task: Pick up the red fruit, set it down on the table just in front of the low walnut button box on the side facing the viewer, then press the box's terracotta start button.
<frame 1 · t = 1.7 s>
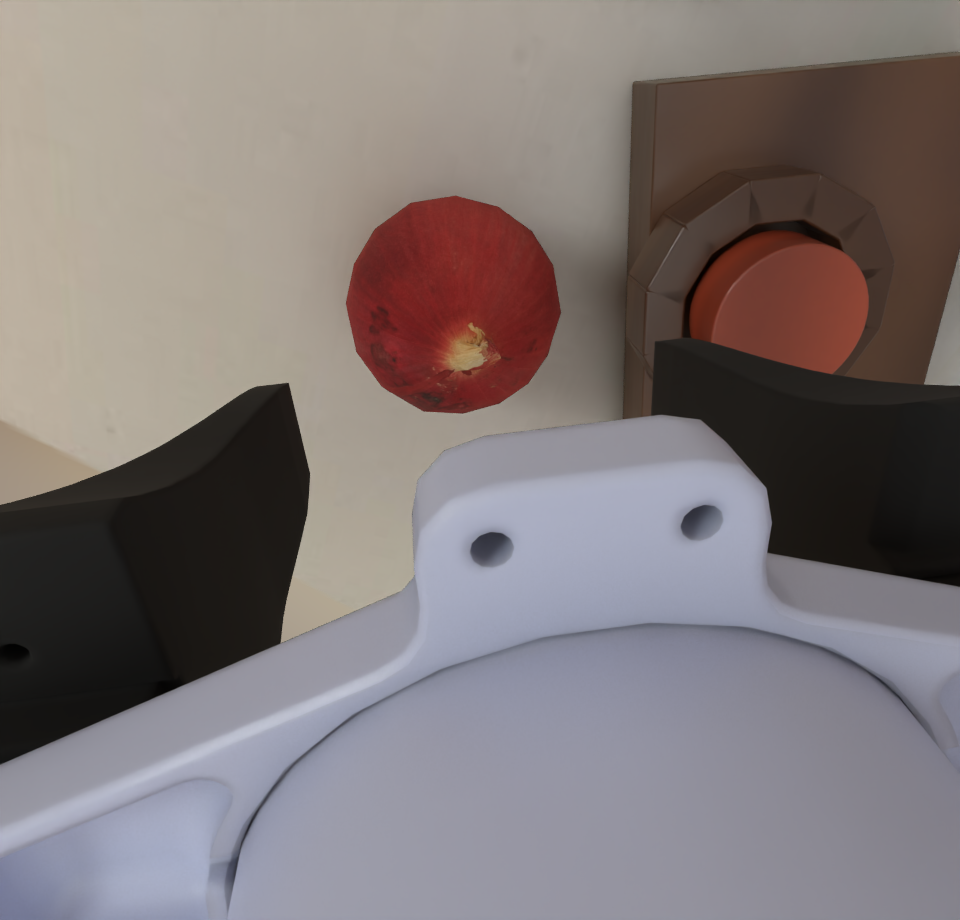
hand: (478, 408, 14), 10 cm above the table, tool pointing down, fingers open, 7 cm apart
start button: (775, 316, 20), point 4 cm above the table, slide at 0.1 cm
red fruit: (444, 272, 23), on the table
button box: (770, 268, 24), on the table
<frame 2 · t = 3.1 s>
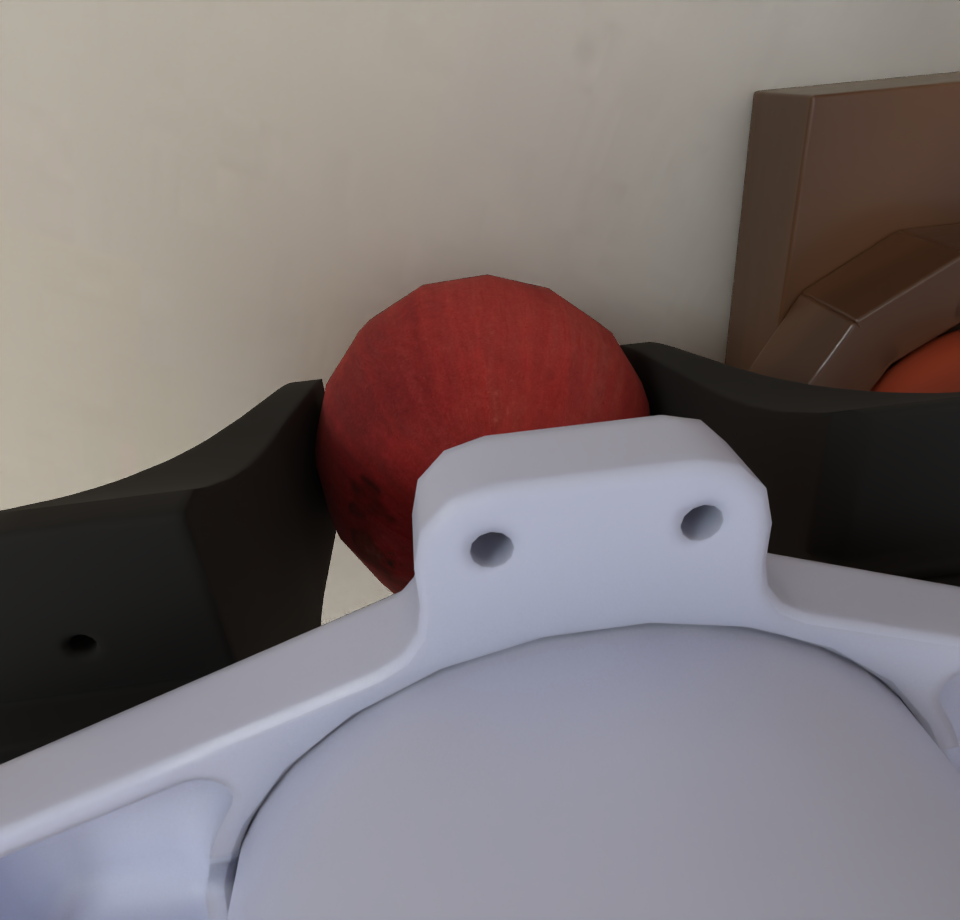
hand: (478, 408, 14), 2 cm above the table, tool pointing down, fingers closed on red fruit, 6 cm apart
red fruit: (464, 364, 16), on the table, touching gripper
button box: (924, 353, 17), on the table
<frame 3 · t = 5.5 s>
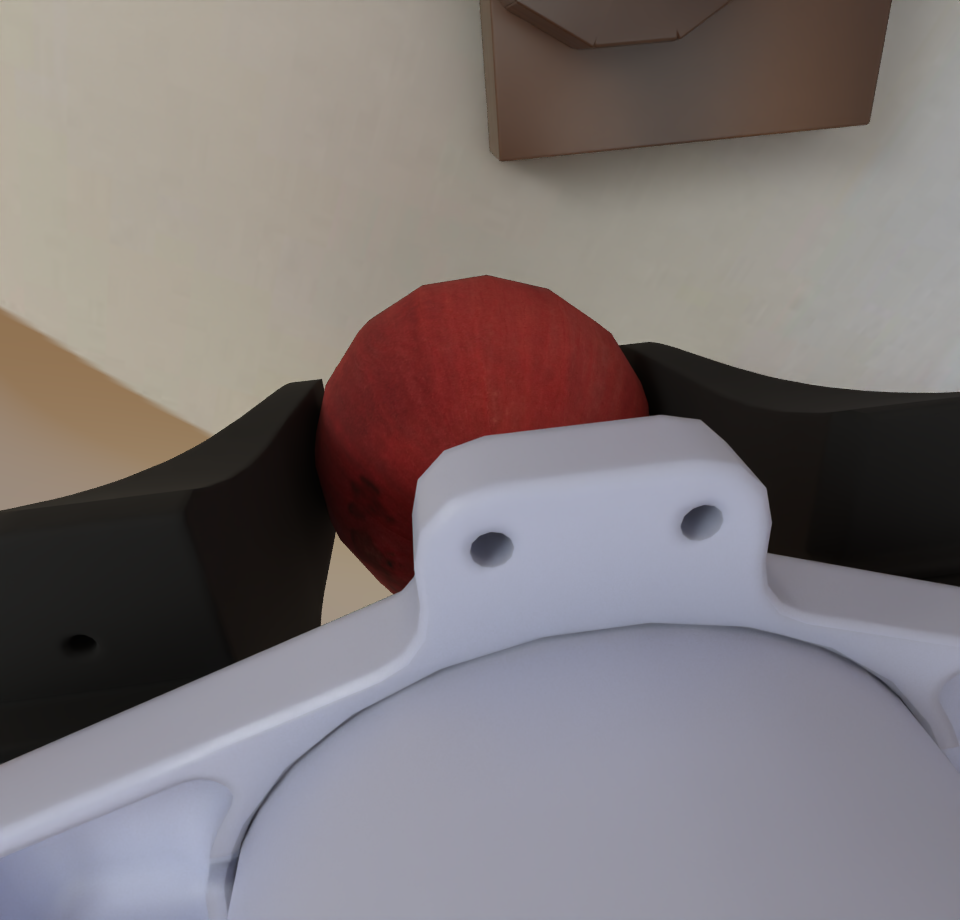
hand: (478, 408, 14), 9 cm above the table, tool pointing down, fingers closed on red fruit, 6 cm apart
red fruit: (463, 364, 16), point 7 cm above the table, touching gripper
when the fingers open (2 cm above the table, at t = 7.9 s): red fruit stays where it is, on the table.
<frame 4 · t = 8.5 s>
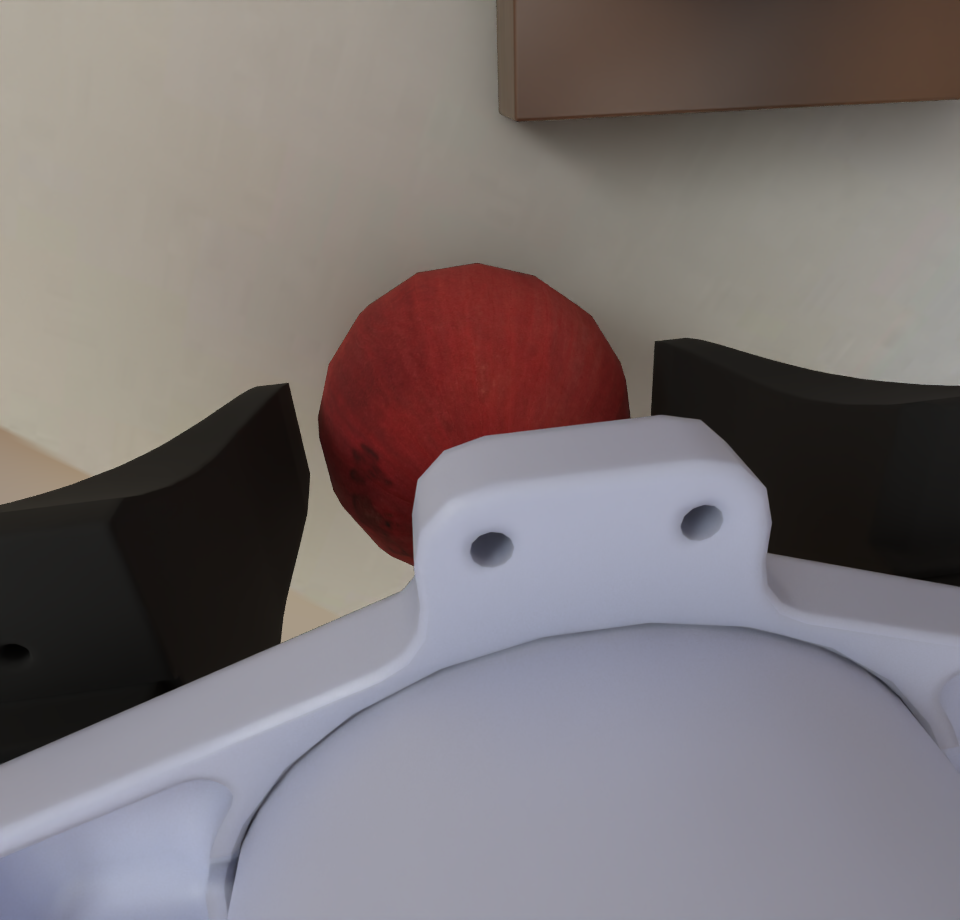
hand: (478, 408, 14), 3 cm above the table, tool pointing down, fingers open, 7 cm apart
red fruit: (457, 350, 17), on the table
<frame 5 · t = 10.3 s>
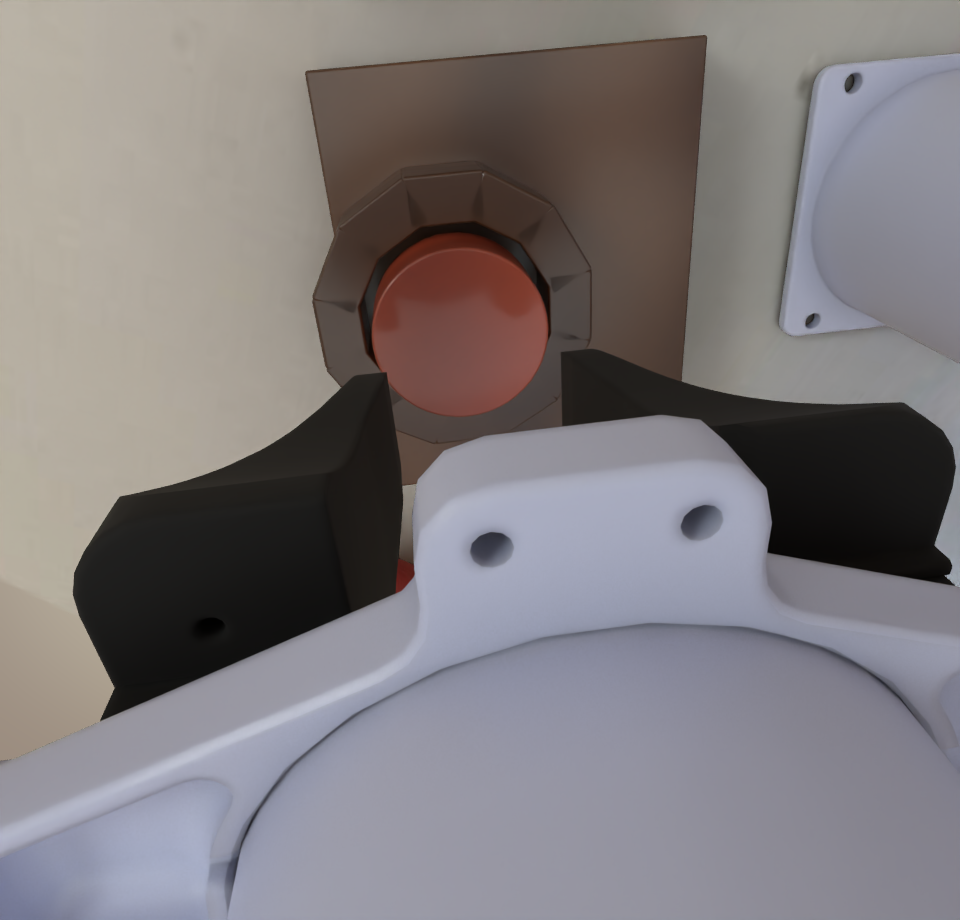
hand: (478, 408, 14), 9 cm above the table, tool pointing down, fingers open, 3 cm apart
start button: (458, 326, 18), point 4 cm above the table, slide at 0.1 cm
red fruit: (372, 568, 27), on the table
button box: (510, 273, 22), on the table
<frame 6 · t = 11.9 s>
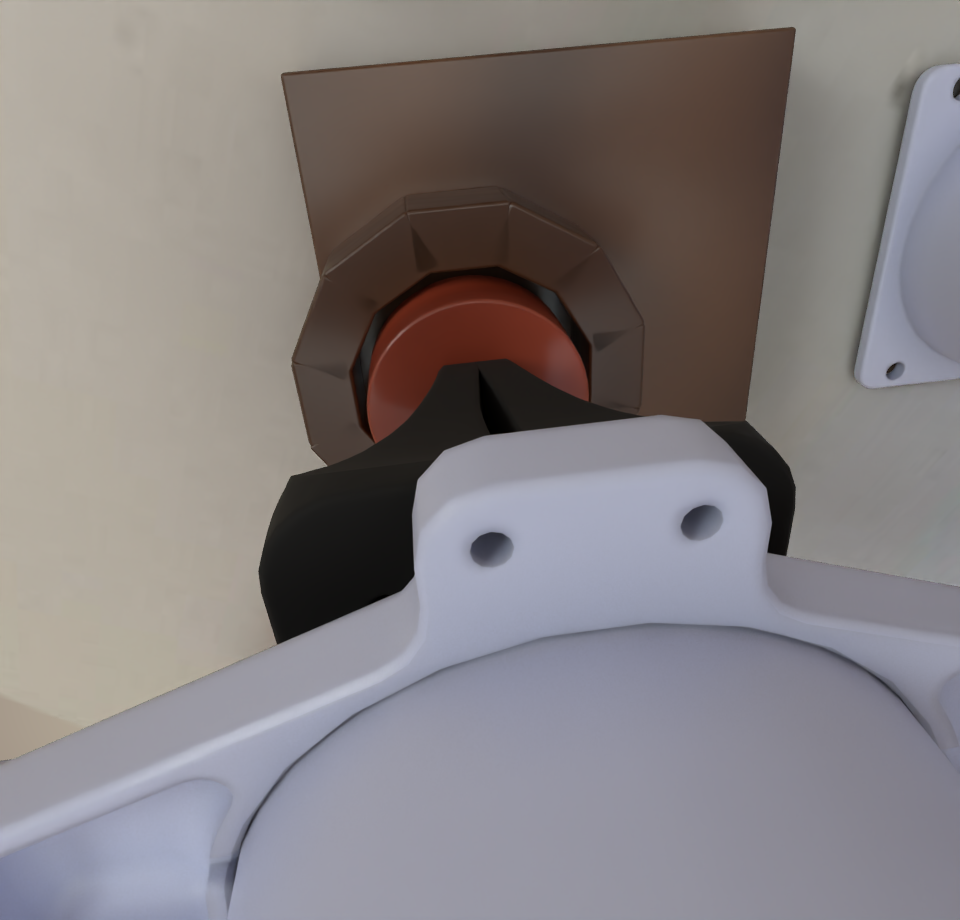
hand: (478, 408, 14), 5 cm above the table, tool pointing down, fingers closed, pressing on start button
start button: (475, 391, 14), point 4 cm above the table, slide at -0.2 cm, touching gripper
button box: (535, 316, 18), on the table
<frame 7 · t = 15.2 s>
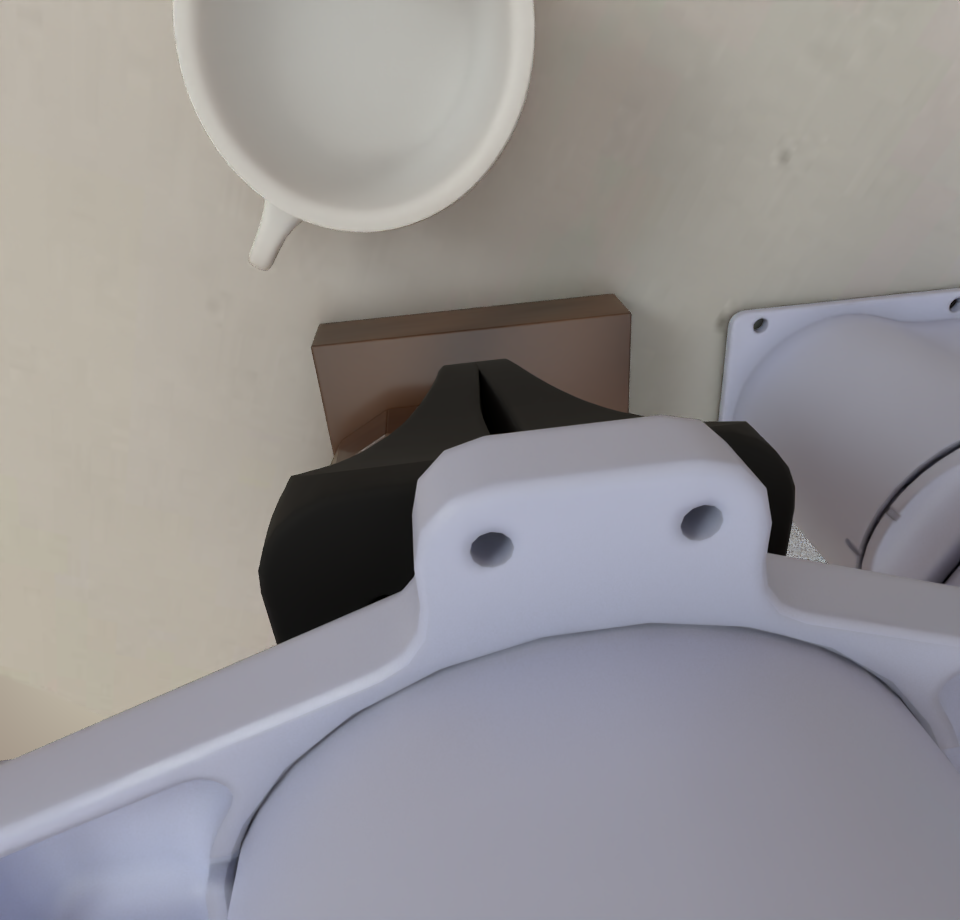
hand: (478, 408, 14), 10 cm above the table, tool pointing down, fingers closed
teacup: (353, 87, 20), on the table
button box: (481, 462, 26), on the table
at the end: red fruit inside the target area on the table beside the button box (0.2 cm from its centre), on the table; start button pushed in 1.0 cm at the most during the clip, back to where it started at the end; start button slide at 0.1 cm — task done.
